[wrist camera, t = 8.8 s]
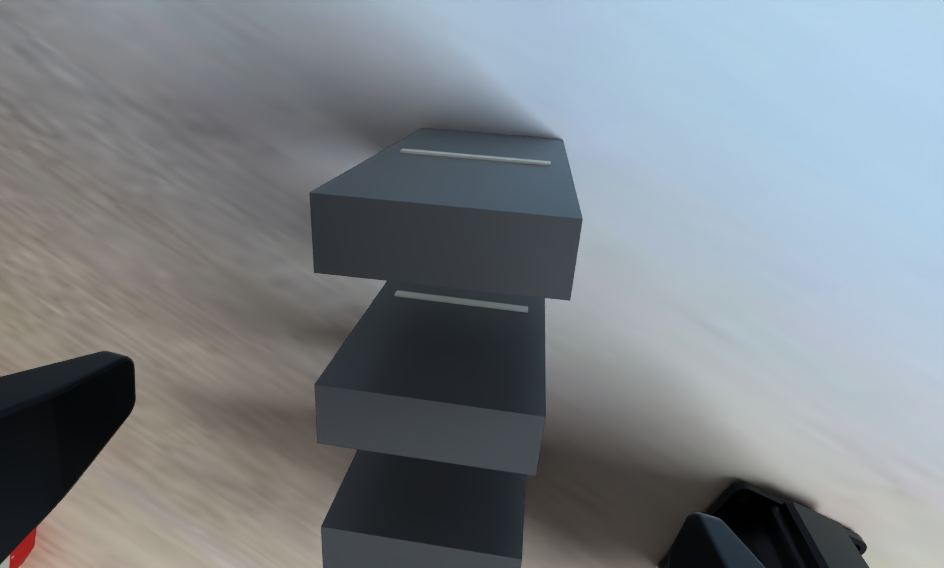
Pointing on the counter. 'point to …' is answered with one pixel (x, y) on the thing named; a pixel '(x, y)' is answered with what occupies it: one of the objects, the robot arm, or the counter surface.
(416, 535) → the domino
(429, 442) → the domino
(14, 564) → the grey chicken figure
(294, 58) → the counter surface
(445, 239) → the domino
